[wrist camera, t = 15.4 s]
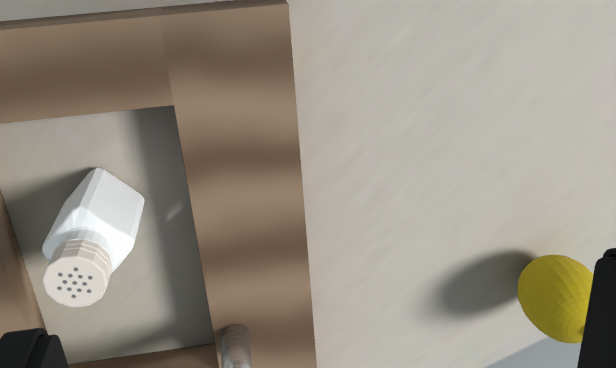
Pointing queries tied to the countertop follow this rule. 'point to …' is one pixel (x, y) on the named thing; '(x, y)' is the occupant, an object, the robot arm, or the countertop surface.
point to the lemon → (556, 296)
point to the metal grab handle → (236, 347)
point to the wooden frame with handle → (186, 154)
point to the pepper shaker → (90, 238)
